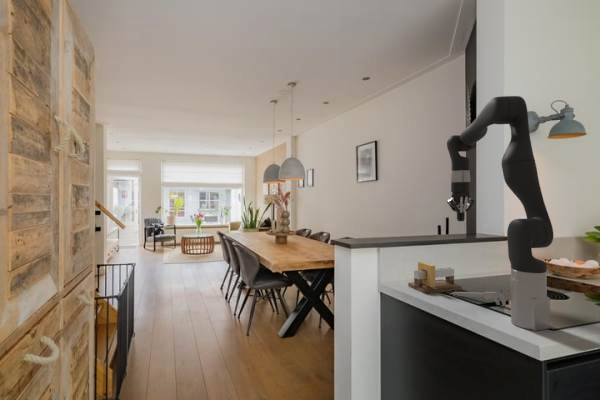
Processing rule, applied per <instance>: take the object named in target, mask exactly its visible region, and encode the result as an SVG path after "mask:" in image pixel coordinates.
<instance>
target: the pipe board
mask: <svg viewBox="0 0 600 400" xmlns="http://www.w3.org/2000/svg"><path fill="white" fill-rule="evenodd" d="M413 278H414V277H413ZM444 278H445V279H442V278H441V279H435V287H429V286H427V285H424V284H423V279H416V278H414V279H413V282H408V283H407V285H408V287H409V288H411V289H413V290H415V291H418V292H420V293H422V294H424V295H426V294H427V295H428V294H434V293H444V291H447V292H453V291H452V290H455V291H462V290H463V289H462V285H459V284H457V283H455V275H454V276H448V277H444Z"/></svg>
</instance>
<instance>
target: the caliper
mask: <svg viewBox="0 0 600 400" xmlns="http://www.w3.org/2000/svg"><path fill="white" fill-rule="evenodd" d="M451 294H453V296H455V295H457V296H456V297H468V298H470V297H472V298H473V297H474V298H484V300H486V301H487V300H488V301H489V300H494V302H495V305H496V306H497V305H500V306H501V304H502V307H503V306H505V307H506V305H507V304H506V302H507V301H506V299H507V298H506V295H505V293H504V292H502V289H496V291H484V292H470V291H469V292H468V291H467V292H465V291H452V292H451V293H450V294H449V295H451ZM500 302H501V303H500Z"/></svg>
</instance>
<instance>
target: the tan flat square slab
mask: <svg viewBox="0 0 600 400" xmlns="http://www.w3.org/2000/svg"><path fill="white" fill-rule="evenodd" d="M435 269H436V265H434V264H431V263H427V262H424V261H417V271H418V270H427V279H423V284H424V285H427V286H429V287H435V280H436V278H435Z"/></svg>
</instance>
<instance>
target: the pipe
mask: <svg viewBox="0 0 600 400" xmlns="http://www.w3.org/2000/svg"><path fill="white" fill-rule="evenodd" d="M413 276H414V277H413V278H416V279H427V270H418V269H417V270H414V271H413ZM448 276H454V277H455V268H452V267H442V268H435V279H436V278H445V277H448Z"/></svg>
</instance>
